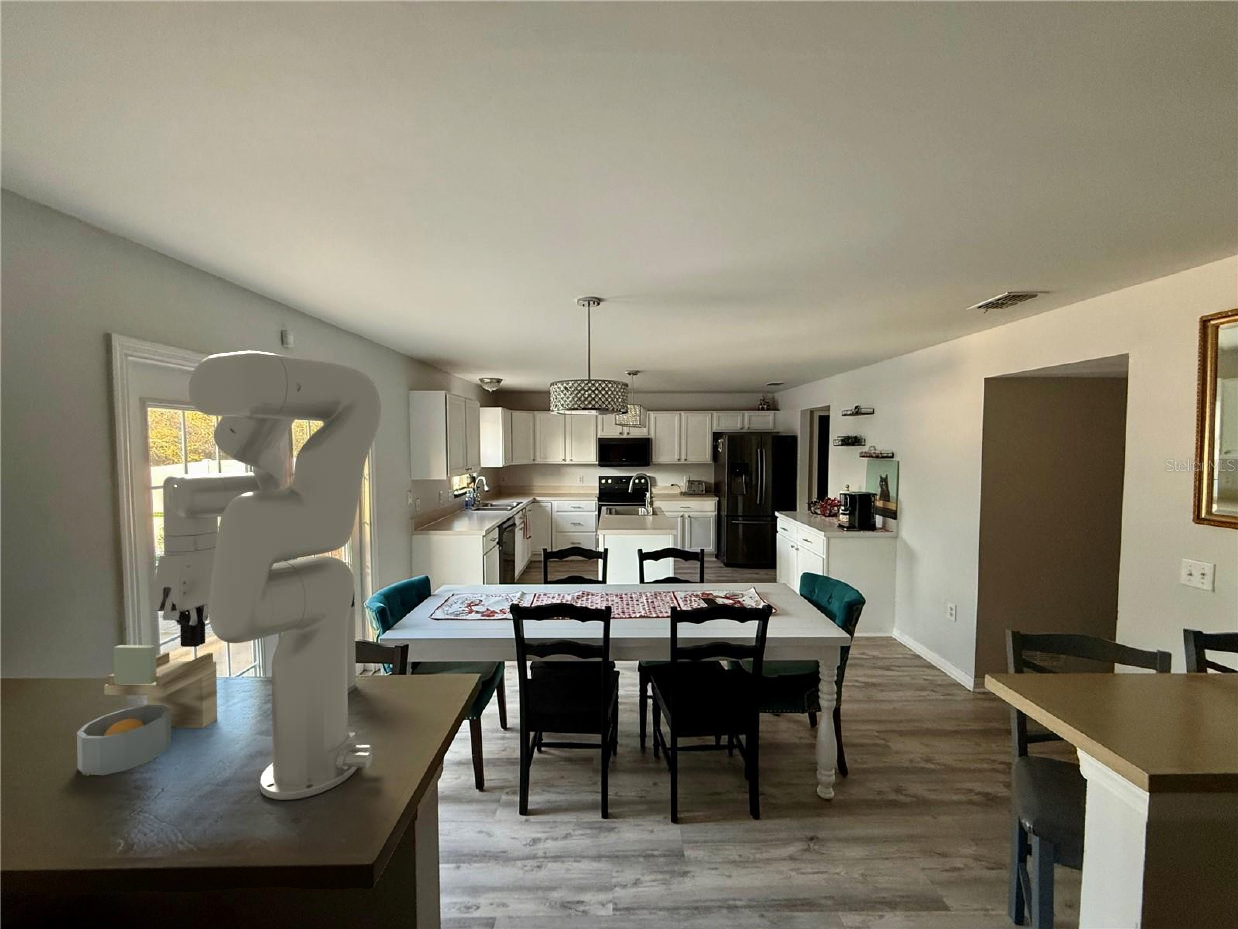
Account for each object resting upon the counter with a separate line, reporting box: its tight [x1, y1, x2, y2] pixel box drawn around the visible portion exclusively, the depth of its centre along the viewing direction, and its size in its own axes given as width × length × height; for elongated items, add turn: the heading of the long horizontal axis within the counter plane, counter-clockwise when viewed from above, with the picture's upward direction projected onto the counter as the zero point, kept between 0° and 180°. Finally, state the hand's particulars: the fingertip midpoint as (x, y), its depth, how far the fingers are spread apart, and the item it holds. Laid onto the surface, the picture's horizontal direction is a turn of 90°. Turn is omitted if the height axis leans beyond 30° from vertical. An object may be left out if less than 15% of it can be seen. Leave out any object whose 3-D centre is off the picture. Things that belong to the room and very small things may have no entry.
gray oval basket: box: [76, 704, 172, 776], centre depth 81 cm, size 10×10×6 cm
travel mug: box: [347, 593, 357, 694], centre depth 104 cm, size 6×7×20 cm
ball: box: [104, 719, 145, 736], centre depth 81 cm, size 5×5×5 cm
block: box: [113, 644, 157, 684], centre depth 83 cm, size 6×2×6 cm, turn 88°
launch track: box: [103, 651, 218, 729], centre depth 88 cm, size 10×10×12 cm
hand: (193, 645), depth 94 cm, fingers closed
